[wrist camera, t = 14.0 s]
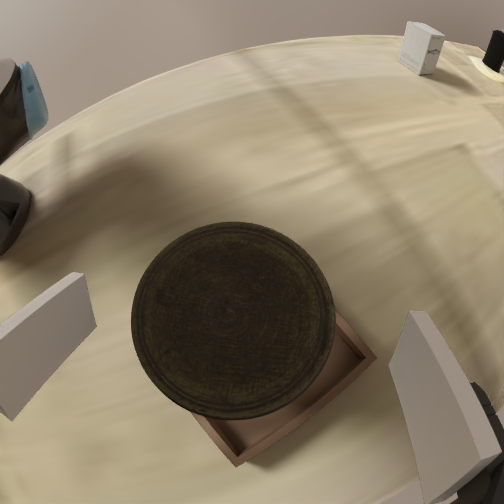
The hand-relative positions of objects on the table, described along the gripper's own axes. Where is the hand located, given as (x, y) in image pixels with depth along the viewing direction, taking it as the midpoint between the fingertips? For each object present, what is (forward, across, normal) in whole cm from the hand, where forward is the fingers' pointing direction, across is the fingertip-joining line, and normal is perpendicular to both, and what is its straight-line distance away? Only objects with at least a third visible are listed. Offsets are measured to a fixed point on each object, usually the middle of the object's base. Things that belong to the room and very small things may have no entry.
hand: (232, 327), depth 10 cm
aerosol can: (+82, +78, +56) cm, 127 cm away
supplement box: (+60, +32, +33) cm, 76 cm away
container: (+13, 0, -12) cm, 18 cm away
